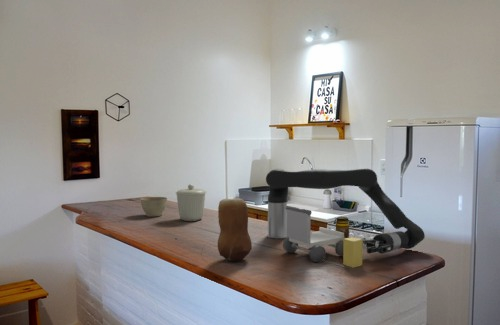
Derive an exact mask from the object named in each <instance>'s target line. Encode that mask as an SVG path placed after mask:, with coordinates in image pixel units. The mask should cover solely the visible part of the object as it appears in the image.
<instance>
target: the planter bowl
mask: <svg viewBox="0 0 500 325" xmlns="http://www.w3.org/2000/svg"><path fill="white" fill-rule="evenodd" d="M167 202H168V197H165V196H148V197H142V198H140V205H141V207H142V210H143V211H144V213H145V214H146V217H148V218H149V217H151V218H152V217H161V216H163V213H164V211H165V209H166V207H167V205H168V204H167Z"/></svg>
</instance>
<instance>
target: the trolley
mask: <svg viewBox="0 0 500 325" xmlns="http://www.w3.org/2000/svg"><path fill="white" fill-rule="evenodd" d="M286 210H287V237H285V238H284V240H283V242H282V248H283V250H284V251H285V252H286V253H289V254H293V253H295V252H296V251H297V250H300V251H302V252H303V251H304V252H306V253H309V254H308V255H309V258H310V260H311V261H312V262H315V263H318V264H319V263H321V262H324V260H325V258H326V255H327V252H326V248H325V247H324V246H328V247H331V248H334V249H335V250H334V251H335V253H336V255H337V256H340V257H343V239H344V233H342V232H338V231H336V230H334V229H330V228H326V227H321V226H319V230H318V231H317V230H316V231H311V215H312V210H309V209H305V208H300V207H296V206H295V207H294V206H291V205H287V206H286ZM334 243H337V244H334ZM300 245H301V246H300ZM303 246H304V247H303ZM305 247H307V248H305ZM309 248H310V249H309Z"/></svg>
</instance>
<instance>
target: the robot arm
mask: <svg viewBox="0 0 500 325" xmlns="http://www.w3.org/2000/svg"><path fill="white" fill-rule="evenodd" d="M265 183H266V184H267V185H268V186H269V192H268V195H267V196H268V197H267V237H268V238H269V239H286V238H287V210H286V206H288V195H289V194H288V193H289V188H300V189H314V190H329V189H335V188H340V187H343V186H344V187H345V186H347V187H358V188H359V189H360V190H361V191H362V192H363V193H364V194H366V195H367V196H368V198H370V199H371V201H373V202H374V204H375V205H376V206H377V208H379V210H380V211H381V213H382V214H383V216H384V217H385V218H386V219H387V221H388V222H389V223H390V224H391V225H392V227H393V228H394V229H395V230H397V231H394V232H393V231H392V232H384V233H380V234H379V233H378V234H376V235H375V236H374V237H373V238H370V239H366V238H365V237H364V238H361V239H362V240H363V242H362V250H363V249H364V250H365V249H366V253H367V254H374V253H375V254H377V253H378V254H380V255H381V254H387V253H389V252H390V253H391V252H394V251H396V250H400V249H404V250H410V249H412V248H415V247H416V246H417V245H419V244H420V243H421V242H422V241H424V240H425V236H426V235H425V232H424V230H423V228H421V226H419V225H417V224H416V223H415V222H413V221H412V220H411V219H410V218H408V217H407V215H406V214H405V213H404V212H403V210H402V209H401V208H400V207H399V205H397V204H396V203H395V202H394V201H393V200H392V199H391V198H390V197H389V196H388V195H387V194H386V193H385V192H384V190H383V189H382V187H381V186H380V184H379V182H378V176H377V173H376V172H375V171H374V170H373V169H370V168H355V169H344V170H343V169H325V168H324V169H323V168H322V169H319V168H318V169H306V170H301V171H300V170H299V171H288V170H287V171H286V170H284V169H283V168H282V169H281V168H275V169H272V170H270V171H268V172H267V174H266V176H265ZM402 228H404V229H406V230H405V231H398V230H399V229H402ZM365 245H366V246H365Z"/></svg>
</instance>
